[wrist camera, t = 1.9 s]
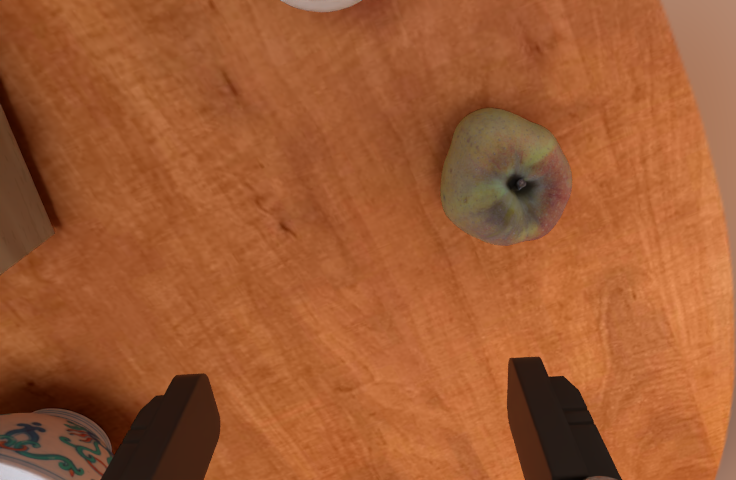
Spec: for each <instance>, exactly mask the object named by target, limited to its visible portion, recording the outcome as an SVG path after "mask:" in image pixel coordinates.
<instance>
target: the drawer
mask: <svg viewBox="0 0 736 480" xmlns="http://www.w3.org/2000/svg"><path fill="white" fill-rule="evenodd" d="M54 234H55V232H54V230H53V227H52V225H51V223H50V220H49V218H48V215H47V213H46V211H45V208H44V206H43V204H42V201H41V199H40V196H39V194H38V192H37V189H36V187H35V185H34V182H33V180H32V177H31V175H30V173H29V170H28V168H27V166H26V163H25V161H24V158H23V156H22V154H21V151H20V149H19V147H18V144H17V142H16V139H15V137H14V135H13V132H12V130H11V128H10V125H9V123H8V120H7V118H6V116H5V113H4V111H3V109H2V106H1V104H0V275H1V274H2V273H4V272H5V271H6V270H8V269H9V268H10V267H12V266H13V265H14V264H16V263H17V262H18V261H20V260H21V259H22V258H24V257H25V256H26V255H28V254H29V253H30V252H31V251H33V250H34V249H35V248H37V247H38V246H39V245H41V244H42V243H43V242H45V241H46V240H47V239H49V238H50V237H51V236H53V235H54Z"/></svg>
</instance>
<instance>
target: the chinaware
mask: <svg viewBox="0 0 736 480" xmlns="http://www.w3.org/2000/svg"><path fill="white" fill-rule="evenodd" d="M113 457H114V455H113V453H112V447H111V443H110V440H109V438H108V436H107V435H106V433H105V432H104V431H103V430H102V429H101V428H100V427H99V426H98V425H97V424H96V423H95V422H93V421H92V420H90V419H89V418H87V417H85V416H83V415H81V414H78V413H76V412H73V411H69V410H65V409H57V408H47V409H41V410H37V411H34V412H32V413H11V414H2V415H0V480H100V479H101V478H102V476H103V474H104V472H105V471H106V469H107V467H108V466H109V464H110V462H111V460H112V459H113Z"/></svg>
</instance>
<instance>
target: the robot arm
mask: <svg viewBox="0 0 736 480" xmlns="http://www.w3.org/2000/svg"><path fill="white" fill-rule="evenodd" d="M507 411H508V419H509V424H510V429H511V432H512V436H513V439H514V443H515V446H516V450H517V453H518V457H519V460H520V464H521V467H522V471H523V474H524V478H525V480H622V479H621V477H620V475H619V473H618V471H617V469H616V467H615V465H614V463H613V461H612V458H611V456H610V454H609V452H608V450H607V448H606V446H605V444H604V442H603V440H602V438H601V436H600V433H599V431H598V429H597V427H596V425H594V422H593V419H592V417H591V415H590V413H589V411H587V406H586V404H585V402H584V400H583V398H582V396H581V394H580V392H579V390H578V389H577V388H576V387H575V386H574V385H572V384H571V383H570V382H569V381H568V380H567V379H566V378H565V377H564V376H556V377H548V374H547V372H546V370H545V367H544V365H543V362H542V360H541V358H540V357H523V358H510V359H509V364H508V390H507ZM219 434H220V416H219V412H218V409H217V405H216V402H215V399H214V395H213V392H212V389H211V385H210V382H209V379H208V377H207V375H206V374H187V375H176V376H175V377H174V378H173V380H172V382H171V383H170V385H169V387H168V389H167V391H166V393H165V394H164V395H161V396H155V397H154V398H153V399H152V400H151V401H150V402H149V403H148V404H147V405H146V406H145V407H143V408H142V409H141V410H140V412H139V413H138V415H137V417H136V419H135V420H134V422H133V424H132V426H131V430H129V431H128V433H127V434H126V436H125V438H124V439H123V444H121V445H120V446H119V448H118V450H117V452H116V453H115V455H114V457H113V459H112V460H111V462H110V464H109V466H108V467H107V469H106V471H105V472H104V474H103V476H102V478H101V479H100V480H204V477H205V474H206V472H207V469H208V466H209V463H210V461H211V458H212V455H213V453H214V450H215V447H216V444H217V442H218V439H219Z"/></svg>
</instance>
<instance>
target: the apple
mask: <svg viewBox="0 0 736 480" xmlns="http://www.w3.org/2000/svg"><path fill="white" fill-rule="evenodd" d="M571 189H572V175H571V169H570V166H569V163H568V161H567V159H566V157H565V155H564V154H563V152H562V150H561V148H560V146H559V144H558V142H557V140H556V138H555V137H554V136H553V134H552V133H551V132H550V131H549V130H547V129H546V128H545V127H543V126H541V125H538V124H536V123H533V122H530V121H528V120H526V119H524V118H522V117H520V116H518V115H516V114H514V113H511V112H508V111H505V110H502V109H497V108H483V109H480V110H477V111H474V112H472V113H470V114H469V115H467V116H466V117H464V118H463V119H462V120H461V121H460V122H459V124H458V125H457V127H456V129H455V131H454V134H453V138H452V142H451V145H450V148H449V151H448V154H447V156H446V159H445V161H444V165H443V170H442V175H441V187H440V196H441V202H442V206H443V209H444V212H445V214H446V215H447V217H448V218H449V219H450V220H451V221H452V222H453V223H454V224H455V225H456V226H457V227H459V228H460V229H461V230H463V231H464V232H466V233H467V234H469V235H471V236H473V237H476V238H478V239H480V240H482V241H484V242H487V243H490V244H494V245H502V246H508V245H513V244H516V243H520V242H523V241H530V240H536V239H539V238H541V237H543V236H544V235H546V234H547V233H549V232H550V231H551V229H552V228H553V227H554V226H555V225H556V223H557V222H558V220H559V219H560V217H561V215H562V213H563V211H564V208H565V206H566V204H567V202H568V199H569V197H570V194H571Z"/></svg>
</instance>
